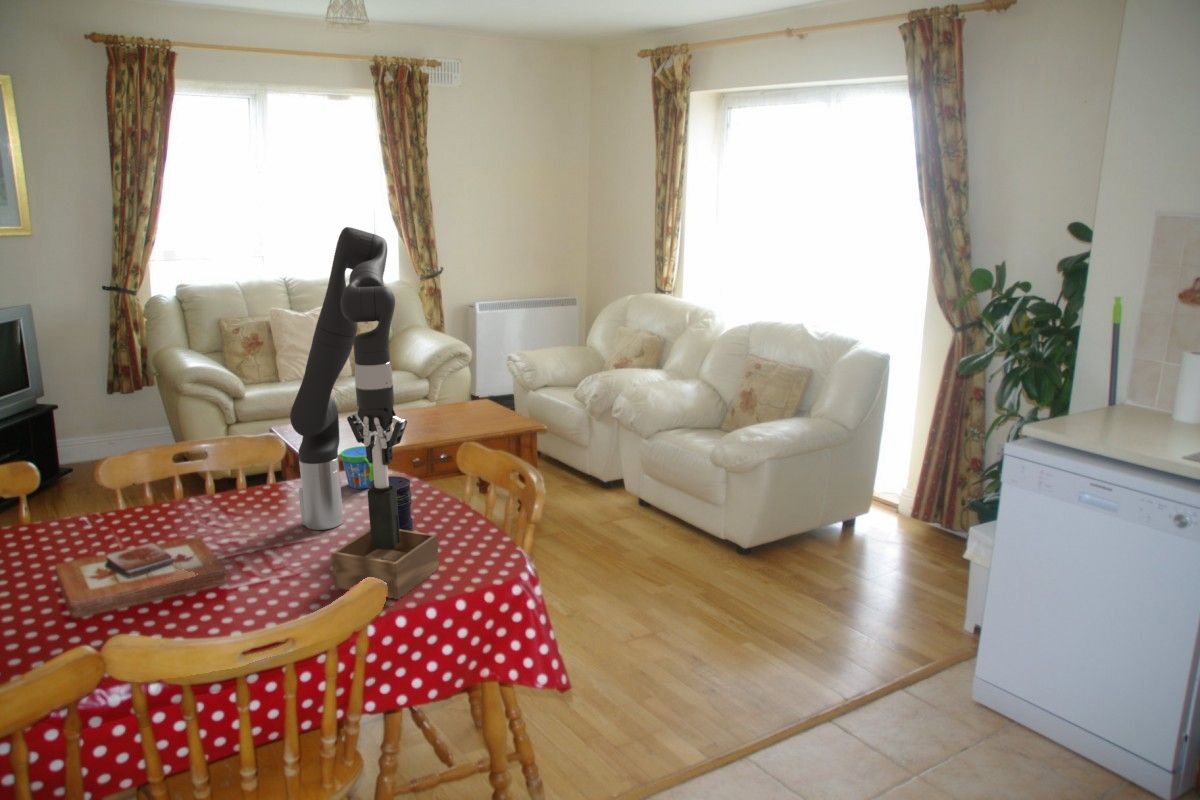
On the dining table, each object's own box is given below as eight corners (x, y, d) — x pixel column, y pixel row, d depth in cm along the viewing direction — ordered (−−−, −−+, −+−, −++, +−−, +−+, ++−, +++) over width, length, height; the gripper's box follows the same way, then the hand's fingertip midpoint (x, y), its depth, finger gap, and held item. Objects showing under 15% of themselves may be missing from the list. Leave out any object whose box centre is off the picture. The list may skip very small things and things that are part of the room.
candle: (392, 550, 191) (383, 437, 185) (369, 548, 192) (360, 436, 186) (401, 540, 196) (394, 430, 190) (380, 539, 197) (371, 429, 191)
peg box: (334, 587, 191) (331, 552, 189) (378, 558, 206) (375, 525, 204) (398, 599, 186) (396, 564, 184) (438, 568, 200) (437, 535, 198)
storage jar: (377, 553, 208) (372, 493, 204) (367, 539, 217) (362, 480, 213) (419, 545, 213) (415, 485, 209) (407, 531, 221) (404, 473, 217)
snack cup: (335, 481, 257) (332, 447, 254) (370, 474, 263) (368, 441, 260) (353, 497, 244) (350, 461, 242) (390, 489, 250) (388, 454, 248)
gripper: (334, 385, 184) (341, 465, 188) (392, 390, 179) (398, 472, 184) (356, 377, 191) (362, 454, 195) (413, 382, 186) (418, 461, 190)
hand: (380, 462), depth 189 cm, fingers closed on candle, 3 cm apart
